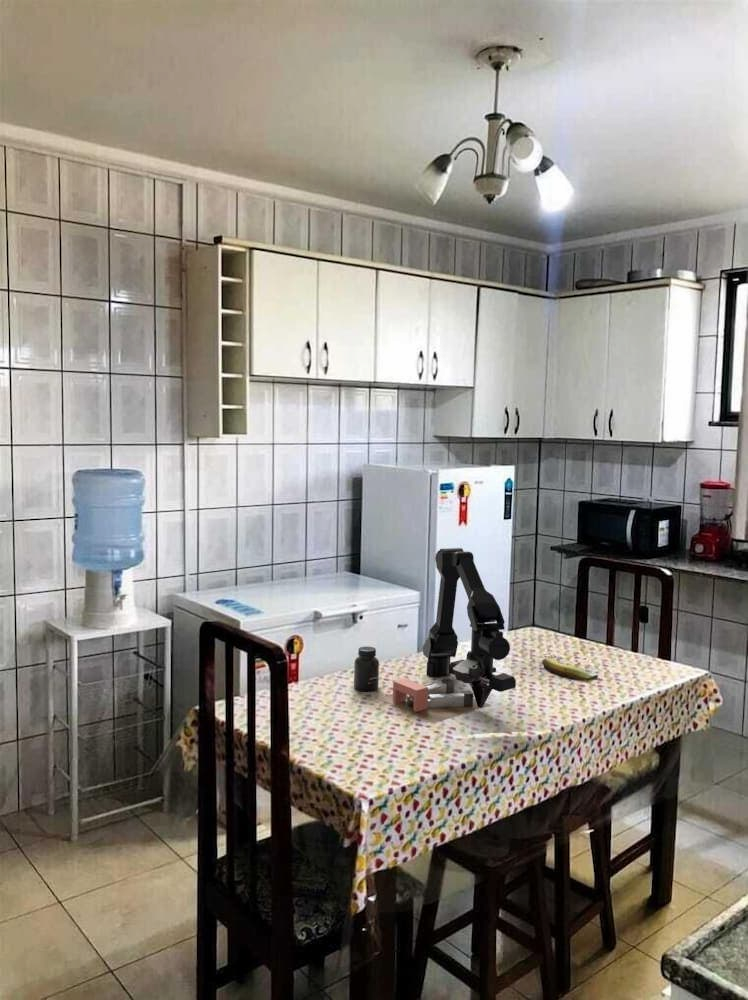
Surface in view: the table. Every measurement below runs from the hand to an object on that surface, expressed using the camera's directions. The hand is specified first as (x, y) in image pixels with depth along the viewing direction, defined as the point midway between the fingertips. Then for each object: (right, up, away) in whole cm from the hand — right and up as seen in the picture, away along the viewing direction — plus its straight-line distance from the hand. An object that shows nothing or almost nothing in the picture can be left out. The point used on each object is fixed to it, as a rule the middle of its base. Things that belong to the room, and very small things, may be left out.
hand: (480, 707), depth 215 cm
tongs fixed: (-12, 0, +8) cm, 15 cm away
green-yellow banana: (+30, +1, +35) cm, 46 cm away
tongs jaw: (-9, 0, +2) cm, 10 cm away
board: (-12, -1, +6) cm, 13 cm away
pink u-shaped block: (-18, 0, +2) cm, 18 cm away
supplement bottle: (-30, 0, +16) cm, 34 cm away
